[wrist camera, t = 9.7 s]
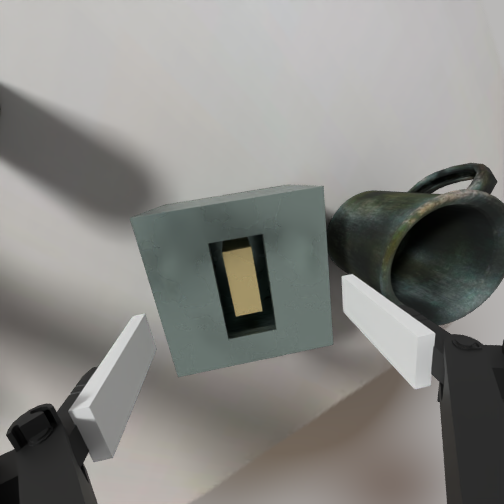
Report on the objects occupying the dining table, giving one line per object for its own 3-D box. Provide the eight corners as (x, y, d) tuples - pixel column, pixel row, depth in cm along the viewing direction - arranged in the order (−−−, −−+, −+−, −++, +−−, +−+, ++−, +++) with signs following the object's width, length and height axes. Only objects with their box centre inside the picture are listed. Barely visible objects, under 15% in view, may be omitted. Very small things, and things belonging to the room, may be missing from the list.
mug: (303, 246, 29) (353, 287, 18) (380, 141, 27) (496, 111, 15) (365, 289, 32) (443, 348, 21) (440, 197, 30) (577, 206, 18)
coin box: (192, 315, 30) (178, 377, 21) (164, 204, 26) (129, 218, 17) (299, 294, 31) (333, 344, 22) (288, 184, 27) (323, 185, 18)
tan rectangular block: (232, 280, 29) (236, 316, 21) (222, 232, 27) (222, 252, 19) (252, 276, 29) (262, 310, 21) (243, 228, 27) (251, 246, 19)
